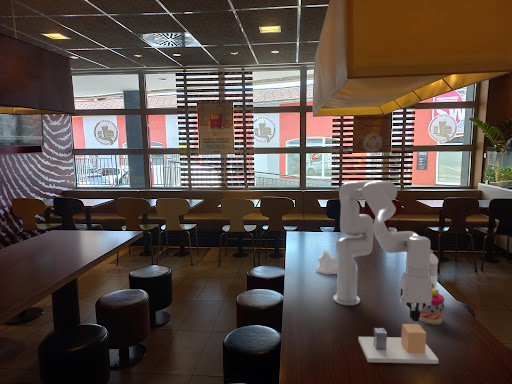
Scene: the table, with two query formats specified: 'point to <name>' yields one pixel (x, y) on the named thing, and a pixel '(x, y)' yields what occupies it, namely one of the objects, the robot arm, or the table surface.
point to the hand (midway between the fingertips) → (414, 319)
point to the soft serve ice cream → (327, 264)
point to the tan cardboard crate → (413, 338)
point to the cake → (433, 309)
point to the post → (380, 339)
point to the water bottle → (433, 264)
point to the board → (395, 352)
